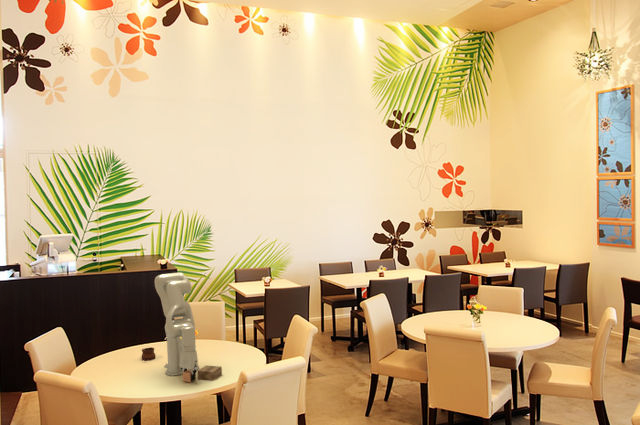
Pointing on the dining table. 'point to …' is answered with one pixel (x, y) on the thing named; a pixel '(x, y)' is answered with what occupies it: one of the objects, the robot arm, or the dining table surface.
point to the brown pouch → (148, 354)
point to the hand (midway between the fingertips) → (189, 379)
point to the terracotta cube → (187, 376)
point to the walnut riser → (209, 372)
